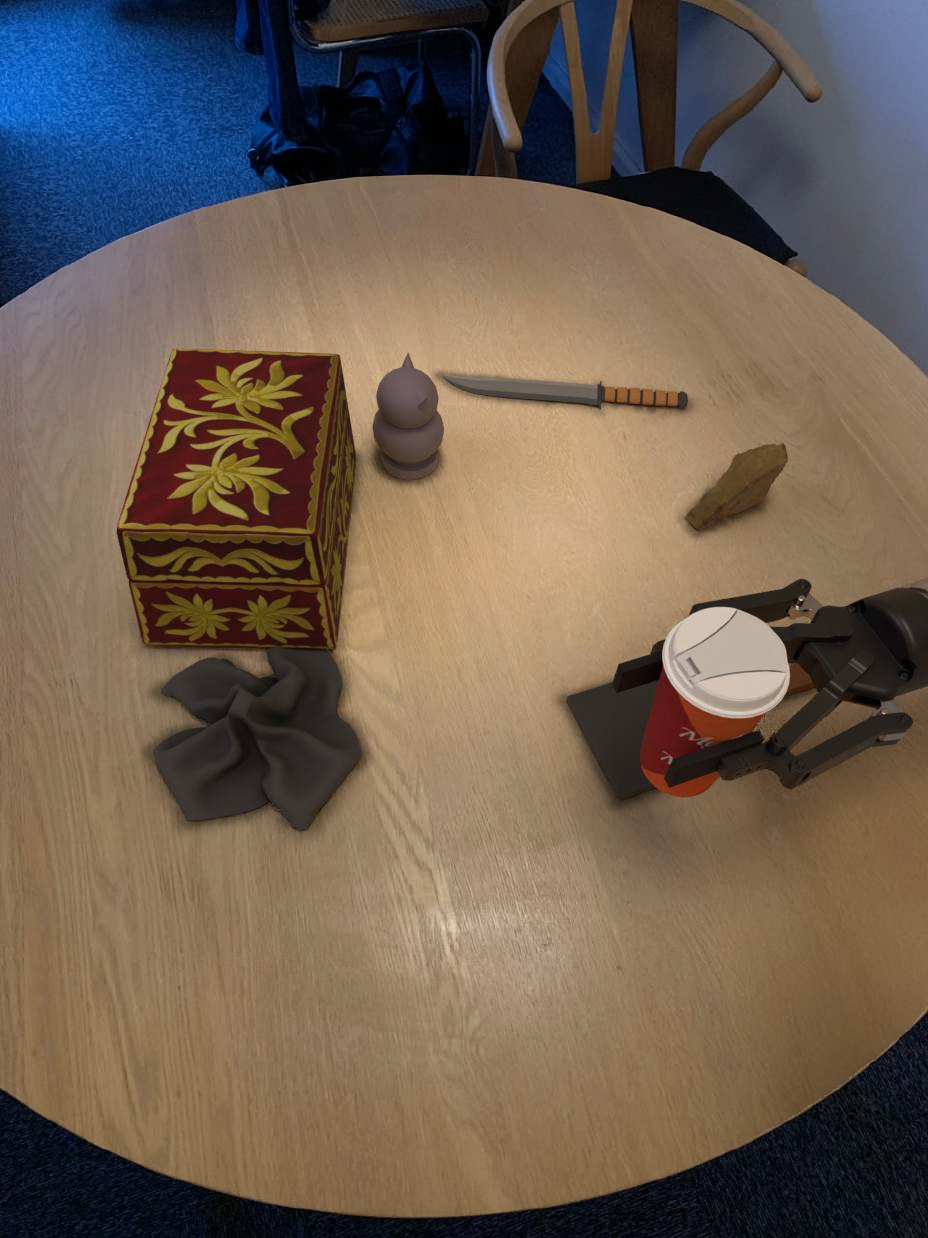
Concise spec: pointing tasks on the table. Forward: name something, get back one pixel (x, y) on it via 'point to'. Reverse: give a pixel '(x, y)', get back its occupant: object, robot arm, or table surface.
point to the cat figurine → (408, 422)
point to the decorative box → (242, 502)
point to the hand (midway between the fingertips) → (643, 724)
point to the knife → (566, 391)
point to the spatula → (631, 728)
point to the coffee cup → (711, 690)
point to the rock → (740, 484)
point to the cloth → (259, 737)
